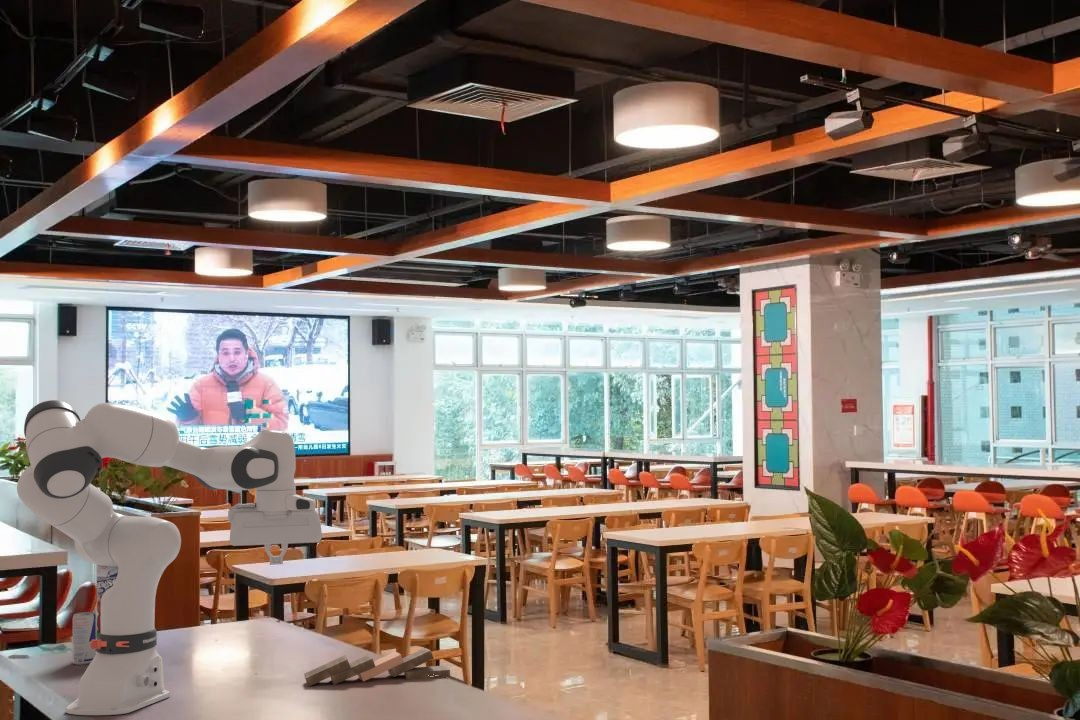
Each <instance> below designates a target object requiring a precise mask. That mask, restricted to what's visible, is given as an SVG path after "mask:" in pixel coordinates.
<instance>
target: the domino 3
mask: <svg viewBox="0 0 1080 720" xmlns="http://www.w3.org/2000/svg"><path fill="white" fill-rule="evenodd" d="M402 658H403V657H402V654H401V653H399V652H397V651H394V652H392V653H390V654H386V655H385V656H383V657H380V658H378V659H377V660H373V661H374V664H375V666H376V667H374V668H372V669H369V670H367V671H365V672H362V673H360V674H358V675H357V678H358V679H359V680H361V682H365V681H368V680H370V679H372V678H375V677H376V676H379V675H380V674H384V673H385V672H388V670H389V669H391V668H393V667H396V666H398V665H400V664H402V663H404V662H403V659H402Z"/></svg>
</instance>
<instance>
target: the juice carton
mask: <svg viewBox="0 0 1080 720" xmlns="http://www.w3.org/2000/svg"><path fill="white" fill-rule="evenodd" d="M117 575H118V567H117V566H101V565H97V564H96V640H97V639H98V635H99V633H100V632H101V598H102V595H103V594H104V592H105V591H107V590H108V589H109V588H111V587H112V586H113V585H114V583H115V581H116V578H117Z"/></svg>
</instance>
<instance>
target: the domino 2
mask: <svg viewBox="0 0 1080 720" xmlns="http://www.w3.org/2000/svg"><path fill="white" fill-rule="evenodd" d="M374 661H375V660H374V659H373V657H372V655H371V654H368V655H365V656H363V657H361V658H360V657H359V658H358V659H355V660H354V661H351V662H349V664H350V667H351V668H349V669H346V670H344V671H342V672H340V673H338V674H335V675H333V676H331V677H330V679H331V683H332V685H333V686H335V685H336V684H340V683H341V682H344V681H346V680H349V679H351V678H353V677H355V676H358V674H360V673H362V672H365V671H367V670H369V669H372V668H374V667H376V666H375V664H374Z"/></svg>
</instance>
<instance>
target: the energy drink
mask: <svg viewBox="0 0 1080 720" xmlns="http://www.w3.org/2000/svg"><path fill="white" fill-rule="evenodd" d="M95 613H96V612H95V611H94V612H93V611H92V612H91V611H82V612H78V613H74V614H73V616H72V663H73V665H78V666H79V665H80V666H81V665H90V663H91V662H92V660H93V658H94V657H95V655H96V649H91V648H92V647H90V643H91V642H92V641H91V640H92V639H96V640H97V615H96V614H95Z"/></svg>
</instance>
